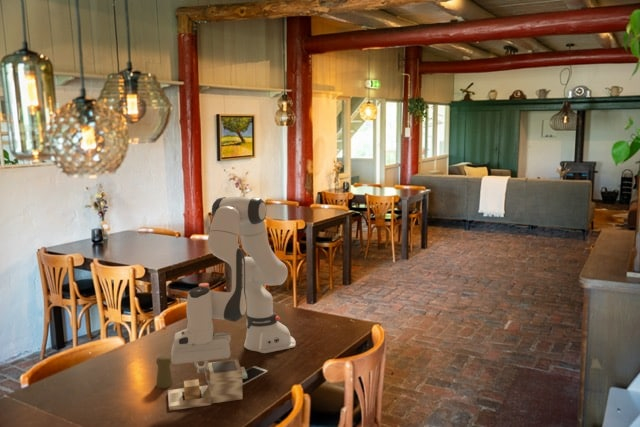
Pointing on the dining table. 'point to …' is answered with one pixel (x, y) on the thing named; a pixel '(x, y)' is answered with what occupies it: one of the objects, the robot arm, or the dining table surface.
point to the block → (191, 389)
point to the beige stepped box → (213, 387)
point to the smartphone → (253, 374)
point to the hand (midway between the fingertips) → (201, 372)
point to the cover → (207, 374)
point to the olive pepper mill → (164, 372)
